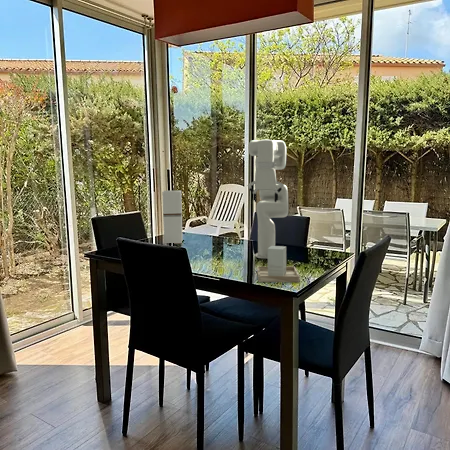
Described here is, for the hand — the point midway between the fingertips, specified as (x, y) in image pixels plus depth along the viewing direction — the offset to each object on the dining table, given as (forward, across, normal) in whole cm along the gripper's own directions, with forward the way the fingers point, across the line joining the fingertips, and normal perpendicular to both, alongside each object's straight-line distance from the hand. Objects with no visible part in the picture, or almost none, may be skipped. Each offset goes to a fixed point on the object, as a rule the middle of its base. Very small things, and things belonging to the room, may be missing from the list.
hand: (265, 201), depth 200 cm
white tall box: (+34, +56, -63) cm, 91 cm away
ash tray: (+33, -5, +14) cm, 36 cm away
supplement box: (+32, -5, +14) cm, 35 cm away
